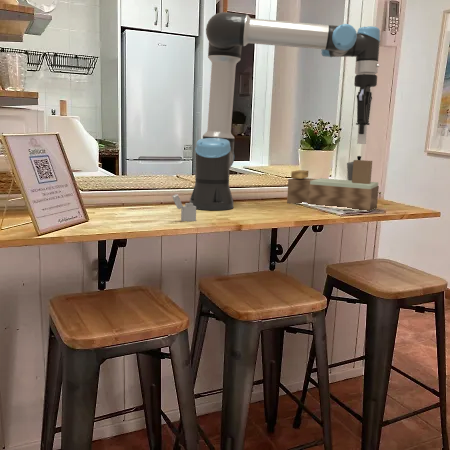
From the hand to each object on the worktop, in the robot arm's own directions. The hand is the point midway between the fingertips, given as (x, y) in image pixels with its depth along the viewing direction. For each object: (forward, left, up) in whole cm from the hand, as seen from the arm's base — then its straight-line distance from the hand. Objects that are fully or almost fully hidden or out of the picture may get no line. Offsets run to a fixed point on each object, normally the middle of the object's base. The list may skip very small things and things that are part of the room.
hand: (361, 143), depth 180 cm
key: (-22, 0, -14) cm, 26 cm away
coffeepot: (-4, +18, -23) cm, 30 cm away
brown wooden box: (-9, 0, -23) cm, 25 cm away
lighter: (-37, -59, -23) cm, 74 cm away
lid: (-5, 0, -17) cm, 17 cm away
